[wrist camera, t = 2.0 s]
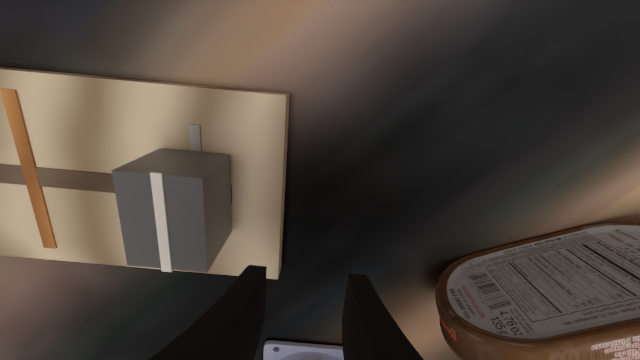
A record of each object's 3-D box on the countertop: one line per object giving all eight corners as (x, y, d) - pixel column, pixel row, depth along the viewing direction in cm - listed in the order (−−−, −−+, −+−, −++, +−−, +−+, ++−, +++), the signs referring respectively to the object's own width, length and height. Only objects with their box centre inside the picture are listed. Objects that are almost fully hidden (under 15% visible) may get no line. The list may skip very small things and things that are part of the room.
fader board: (289, 93, 17) (286, 95, 16) (281, 265, 21) (277, 280, 20) (-92, 58, 17) (-133, 57, 15) (-26, 238, 21) (-53, 251, 20)
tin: (424, 293, 22) (478, 417, 14) (414, 259, 21) (468, 372, 13) (644, 240, 20) (851, 349, 12) (645, 199, 19) (872, 290, 11)
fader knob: (230, 153, 17) (201, 177, 13) (231, 232, 18) (206, 275, 15) (159, 146, 17) (109, 168, 13) (168, 227, 18) (126, 268, 15)
